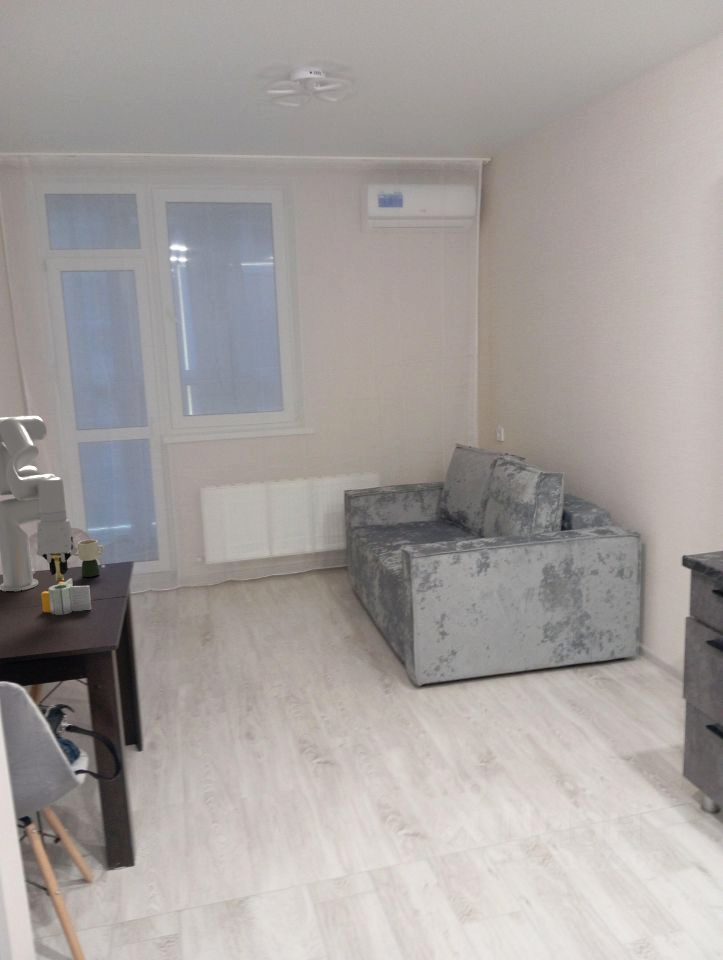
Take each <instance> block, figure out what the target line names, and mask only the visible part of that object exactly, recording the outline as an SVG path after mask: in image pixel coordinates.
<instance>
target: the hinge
mask: <svg viewBox="0 0 723 960" xmlns="http://www.w3.org/2000/svg"><path fill="white" fill-rule="evenodd" d="M64 582H65V583H64V584H58V583H57V584H54V585H52V586H49V587H48V591H49V600H50V610H51V612H50V614H52V615H54V614H55V615H54V616H59V615H60V616H62V615H67V614H71V613H73V612H83V611H82V610H91V609H92V601H91V599H92V598H91V590H90V589H91V588H90V585H74V584H73V578H68V579H67V580H66V581H64ZM73 585H74V586H73ZM72 611H73V612H72ZM91 611H92V610H91ZM70 612H71V613H70Z"/></svg>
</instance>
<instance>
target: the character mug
mask: <svg viewBox="0 0 723 960" xmlns="http://www.w3.org/2000/svg"><path fill="white" fill-rule="evenodd" d="M75 547H76V546H75ZM76 549H77V551H78V552H77V553H76V554H74V555H73V556H74V557H78V558H79V559H78V560H80V561H82V562H81V576H82V577H85V578H92V577H95V576H97V575H100V569H99V564H98V560H97V559H99V557H100V555H104V554H105V547H104V545H99V542H98V540H97V539H86V540H85V539H84V540H80V541H77V547H76ZM99 549H100V550H101V551H99Z"/></svg>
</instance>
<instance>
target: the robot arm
mask: <svg viewBox="0 0 723 960" xmlns="http://www.w3.org/2000/svg"><path fill="white" fill-rule="evenodd" d="M47 433H48V430H47V425H46V423H45V421H44V420H43V419H42V418H41V417H40V416H38V415H17V416H4V417H3V416H2V417H0V496H11V495H12V496H13V497H14V498H7V499H2V500H0V560H1V568H2V570H1V571H2V578H3V583H2V582H1V584H0V591H1V590H2V591H1V592H6V591H14V592H21V590H22V591H27V590H29V589H33V588H35V587H37V586H38V585H39V580H38V579H36V578H34V574H36V570H35V569H34V568H33V564H32V557H31V547H30V538H29V535H28V534H27V532H26V531H25V530H24V529H22V528H21V526H23V525H27V524H33V523H37V532H36V533H37V534H36V540H37V541H36V543H37V544H36V547H37V550H36V556H38V557H39V556H40V557H42V558H44V559H45V560H46V561H47V563H48V564H49V572H50V573H51V576H54V575H55V568H54V559H52V558H50V555H51V554H57V553H60V554H61V557H62V558H61V563H60V569H61V574H62V575H64V576H65V574H66V573H67V571H69V567H68V560H69V559H70V558H71V557H72V556H74V554H78V550H77V549H76V546H75V540H74V533H73V529H72V525H71V523H70V520H69V518H68V519H67V510H66V509H67V508H66V500H65V490H64V481H63V479H62V478H61V477H59V476H56V475H55V474H53V473H43V474H41V472H40V470H39V469H38V468H37V467H36V466H34V465H30V464H31V463H34V461H35V460H36V459H38V456H39V453H40V451H39V448H38V445H37V444H36V442H35V441H42V440H45V438H46V436H47Z"/></svg>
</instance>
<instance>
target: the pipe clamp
mask: <svg viewBox="0 0 723 960" xmlns="http://www.w3.org/2000/svg"><path fill="white" fill-rule="evenodd" d="M65 582H66V581H58V583H57V585H58V584H64V583H65ZM40 594H41V595H40V596H41V604H42V605H41V606H42V612H43V611H44V612H43V613H51V610H50V600H49V590H48V591H47V590H44V591H43V592H41V593H40Z"/></svg>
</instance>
